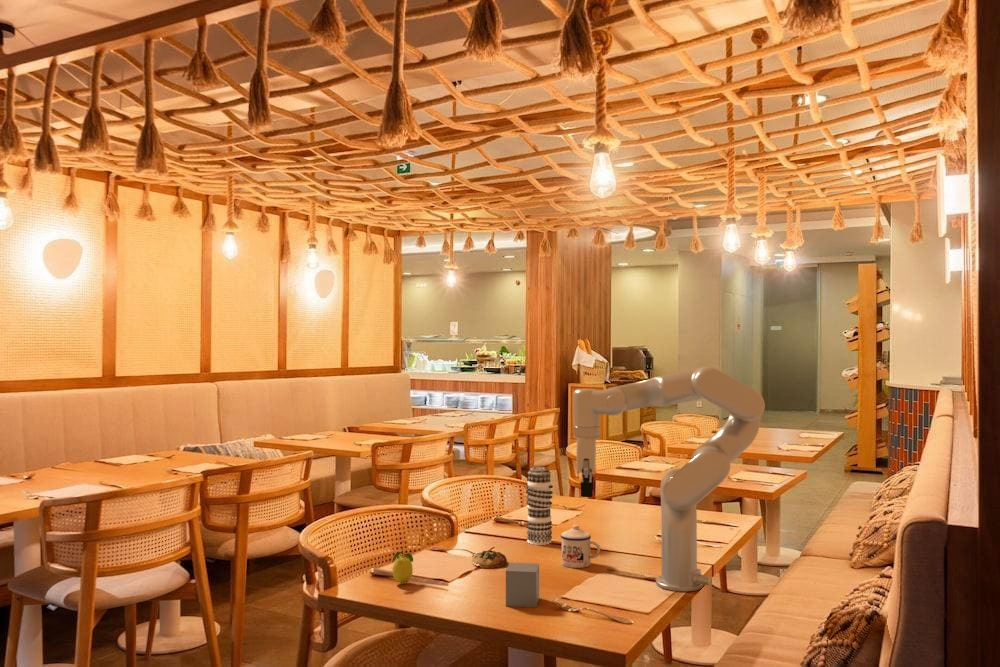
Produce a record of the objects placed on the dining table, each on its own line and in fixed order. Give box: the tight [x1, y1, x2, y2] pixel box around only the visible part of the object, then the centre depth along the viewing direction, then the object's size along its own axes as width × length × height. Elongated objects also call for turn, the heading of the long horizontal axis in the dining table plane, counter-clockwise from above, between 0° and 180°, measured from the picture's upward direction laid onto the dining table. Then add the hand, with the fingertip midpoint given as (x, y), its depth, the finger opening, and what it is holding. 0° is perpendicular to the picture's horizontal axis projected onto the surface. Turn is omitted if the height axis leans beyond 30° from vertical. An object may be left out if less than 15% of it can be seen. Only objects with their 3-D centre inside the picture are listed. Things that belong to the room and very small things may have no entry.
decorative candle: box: [525, 466, 554, 546], centre depth 254 cm, size 9×9×25 cm
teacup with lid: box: [560, 524, 601, 569], centre depth 226 cm, size 12×9×12 cm
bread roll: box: [471, 549, 508, 569], centre depth 227 cm, size 11×11×5 cm
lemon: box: [391, 547, 414, 585], centre depth 206 cm, size 7×6×10 cm
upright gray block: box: [505, 562, 540, 609], centre depth 191 cm, size 8×8×9 cm
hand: (587, 493), depth 211 cm, fingers open, 9 cm apart
